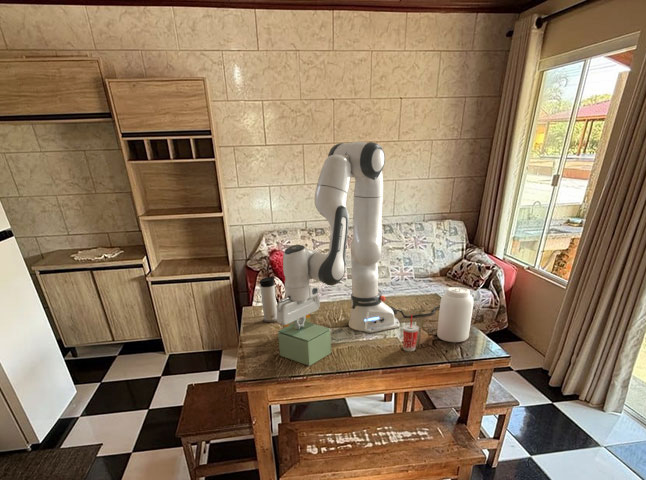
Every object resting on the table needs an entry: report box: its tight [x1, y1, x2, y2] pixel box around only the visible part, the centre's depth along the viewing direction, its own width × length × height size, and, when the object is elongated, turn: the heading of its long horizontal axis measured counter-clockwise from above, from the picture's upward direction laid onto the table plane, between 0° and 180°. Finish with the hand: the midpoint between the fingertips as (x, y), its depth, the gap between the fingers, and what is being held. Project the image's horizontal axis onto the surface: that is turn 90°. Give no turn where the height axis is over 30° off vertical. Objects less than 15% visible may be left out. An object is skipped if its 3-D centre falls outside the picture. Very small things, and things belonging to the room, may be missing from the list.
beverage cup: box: [402, 314, 420, 352], centre depth 155 cm, size 6×6×14 cm
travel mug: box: [259, 276, 277, 323], centre depth 185 cm, size 6×7×20 cm
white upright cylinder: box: [436, 286, 475, 343], centre depth 162 cm, size 12×12×20 cm
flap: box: [277, 321, 316, 336], centre depth 155 cm, size 7×13×1 cm, turn 141°
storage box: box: [277, 323, 332, 367], centre depth 155 cm, size 15×13×10 cm
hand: (299, 328), depth 153 cm, fingers closed, pressing on flap
